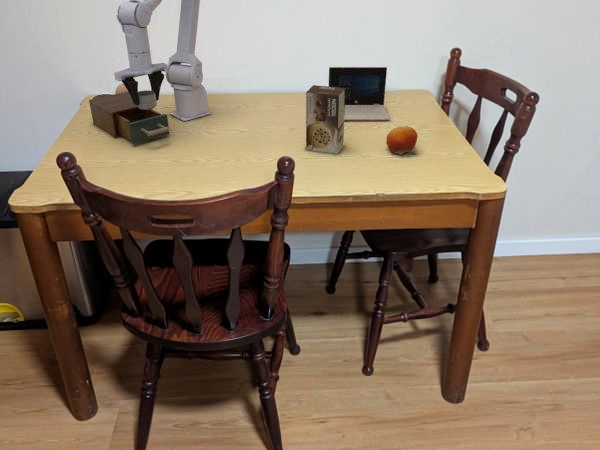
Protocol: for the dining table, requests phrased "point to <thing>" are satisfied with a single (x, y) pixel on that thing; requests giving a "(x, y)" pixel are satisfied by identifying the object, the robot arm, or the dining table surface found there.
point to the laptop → (361, 91)
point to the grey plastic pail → (147, 100)
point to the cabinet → (110, 111)
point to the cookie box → (325, 118)
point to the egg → (121, 89)
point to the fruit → (402, 139)
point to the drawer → (141, 125)
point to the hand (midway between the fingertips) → (146, 101)
